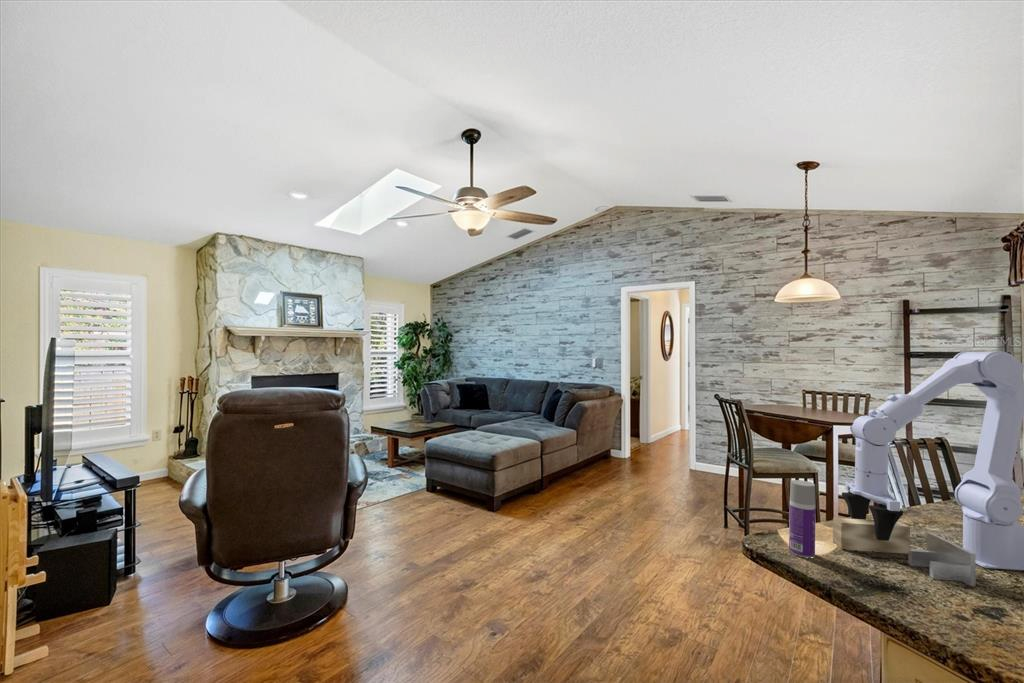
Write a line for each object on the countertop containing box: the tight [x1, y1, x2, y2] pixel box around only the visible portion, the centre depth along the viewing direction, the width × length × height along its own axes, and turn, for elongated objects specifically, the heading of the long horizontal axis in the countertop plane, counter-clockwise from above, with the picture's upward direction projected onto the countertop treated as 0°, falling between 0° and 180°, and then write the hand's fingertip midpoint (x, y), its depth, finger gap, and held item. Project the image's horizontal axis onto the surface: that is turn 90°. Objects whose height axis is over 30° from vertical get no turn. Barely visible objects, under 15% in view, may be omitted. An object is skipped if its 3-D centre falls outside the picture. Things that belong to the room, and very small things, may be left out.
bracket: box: [907, 532, 977, 587], centre depth 90 cm, size 6×10×6 cm, turn 175°
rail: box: [832, 517, 911, 555], centre depth 100 cm, size 14×3×6 cm, turn 85°
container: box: [788, 479, 817, 559], centre depth 97 cm, size 5×5×15 cm
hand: (870, 532), depth 100 cm, fingers open, 7 cm apart
